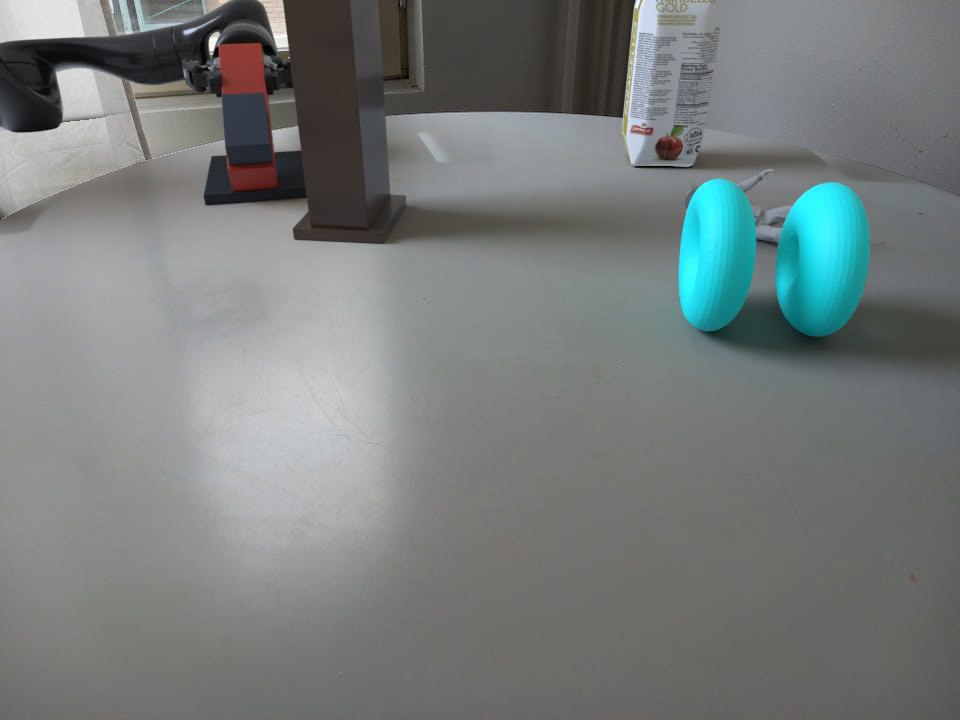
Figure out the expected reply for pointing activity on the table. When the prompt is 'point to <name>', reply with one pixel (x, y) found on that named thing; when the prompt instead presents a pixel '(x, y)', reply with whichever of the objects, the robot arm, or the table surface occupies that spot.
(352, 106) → the plinth
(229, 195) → the mat
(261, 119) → the blue-red two-tone block
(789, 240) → the donuts
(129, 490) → the table surface
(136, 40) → the robot arm
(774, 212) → the soldier figure
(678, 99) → the juice carton
